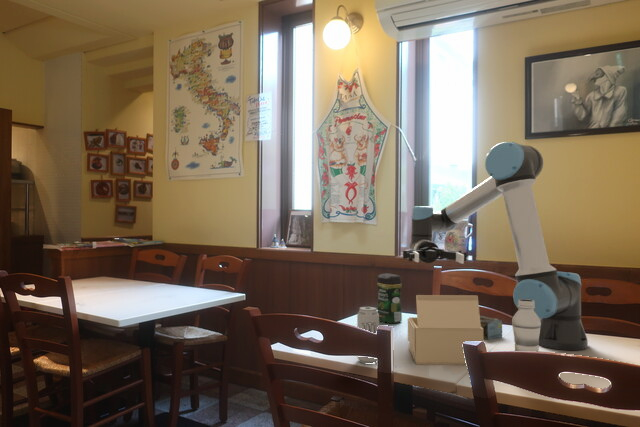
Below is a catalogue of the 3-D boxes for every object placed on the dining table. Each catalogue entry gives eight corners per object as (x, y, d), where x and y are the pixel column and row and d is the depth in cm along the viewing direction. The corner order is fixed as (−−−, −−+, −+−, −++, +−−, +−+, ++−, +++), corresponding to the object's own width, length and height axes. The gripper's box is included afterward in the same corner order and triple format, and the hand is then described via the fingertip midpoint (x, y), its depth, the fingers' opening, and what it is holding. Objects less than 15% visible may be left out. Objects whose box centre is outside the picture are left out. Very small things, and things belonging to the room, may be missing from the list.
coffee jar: (373, 320, 189) (373, 273, 189) (390, 318, 193) (390, 271, 193) (388, 324, 180) (388, 275, 181) (405, 322, 184) (405, 274, 184)
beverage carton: (487, 341, 157) (487, 321, 157) (443, 329, 174) (443, 311, 174) (503, 337, 162) (503, 318, 162) (458, 327, 178) (458, 309, 178)
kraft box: (470, 350, 145) (470, 317, 145) (484, 365, 131) (484, 328, 131) (407, 349, 146) (407, 317, 146) (414, 364, 132) (414, 328, 132)
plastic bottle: (547, 386, 114) (546, 302, 115) (520, 387, 114) (519, 302, 114) (533, 377, 121) (532, 297, 121) (507, 378, 120) (507, 298, 121)
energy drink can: (359, 365, 131) (359, 310, 131) (355, 359, 137) (355, 306, 137) (381, 364, 132) (381, 310, 132) (376, 358, 138) (376, 306, 138)
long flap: (477, 295, 134) (477, 295, 134) (480, 328, 131) (481, 328, 130) (416, 295, 135) (416, 295, 134) (417, 328, 132) (418, 327, 131)
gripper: (462, 263, 167) (481, 272, 145) (390, 260, 167) (398, 269, 146) (462, 241, 166) (481, 247, 145) (390, 239, 167) (399, 244, 146)
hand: (440, 258), depth 146 cm, fingers open, 13 cm apart
